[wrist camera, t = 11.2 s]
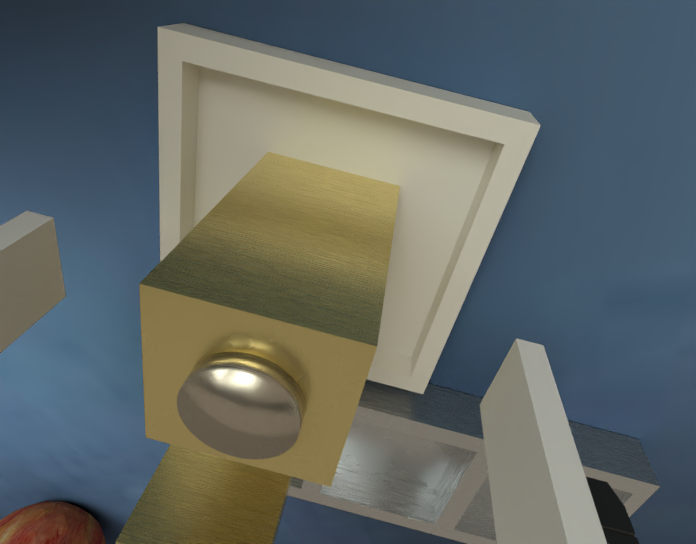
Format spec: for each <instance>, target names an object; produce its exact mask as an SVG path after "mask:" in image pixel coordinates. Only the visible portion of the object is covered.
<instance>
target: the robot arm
mask: <svg viewBox="0 0 696 544" xmlns="http://www.w3.org/2000/svg"><path fill="white" fill-rule="evenodd" d="M64 297H66V294H65V288H64V281H63V275H62V269H61V262H60V256H59V249H58V243H57V237H56V230H55V224H54V218H53V217H49V216H45V215H41V214H38V213H34V212H30V211H25V212H24V213H22V214H20V215H18V216H16V217H15V218H13V219H11V220H9V221H8V222H6V223H4V224H2V225H1V226H0V353H1V352H2V351H3V350H4V349H6V348H7V347H8V346H9V345H10V344H11V343H13V342H14V341H15V340H16V339H17V338H18V337H19V336H21V335H22V334H23V333H24V332H25V331H26V330H28V329H29V328H30V327H31V326H32V325H33V324H34V323H36V322H37V321H38V320H39V319H40V318H41V317H43V316H44V315H45V314H46V313H47V312H48V311H49V310H51V309H52V308H53V307H54V306H55V305H56V304H58V303H59V302H60V301H61V300H62V299H63V298H64ZM480 412H481V420H482V428H483V436H484V444H485V452H486V460H487V468H488V476H489V484H490V492H491V500H492V508H493V516H494V524H495V532H496V540H497V544H639V542H638V540H637V538H635V537H634V533H635V532H634V529H633V527H632V524H631V521H630V519H629V516H628V513H627V511H626V508H625V506H624V505H623V503H622V502H621V500H620V499H619V498H618V496H617V495H616V493H615V492H614V491H613V489H612V488H611V486H610V485H609V484H608V482H605V481H601V480H597V479H594V478H590V477H586V476H585V473H584V470H583V467H582V464H581V461H580V458H579V455H578V451H577V448H576V445H575V442H574V439H573V436H572V433H571V430H570V427H569V423H568V420H567V417H566V414H565V411H564V408H563V405H562V402H561V399H560V395H559V392H558V389H557V386H556V383H555V380H554V377H553V374H552V371H551V367H550V364H549V361H548V358H547V355H546V352H545V349H544V346H543V345H540V344H536V343H532V342H528V341H525V340H521V339H517V338H516V340H515V341H514V343H513V345H512V347H511V349H510V350H509V352H508V354H507V356H506V358H505V360H504V361H503V363H502V365H501V367H500V369H499V370H498V372H497V374H496V376H495V378H494V380H493V381H492V383H491V385H490V387H489V389H488V391H487V392H486V394H485V396H484V398H483V400H482V401H481V403H480Z"/></svg>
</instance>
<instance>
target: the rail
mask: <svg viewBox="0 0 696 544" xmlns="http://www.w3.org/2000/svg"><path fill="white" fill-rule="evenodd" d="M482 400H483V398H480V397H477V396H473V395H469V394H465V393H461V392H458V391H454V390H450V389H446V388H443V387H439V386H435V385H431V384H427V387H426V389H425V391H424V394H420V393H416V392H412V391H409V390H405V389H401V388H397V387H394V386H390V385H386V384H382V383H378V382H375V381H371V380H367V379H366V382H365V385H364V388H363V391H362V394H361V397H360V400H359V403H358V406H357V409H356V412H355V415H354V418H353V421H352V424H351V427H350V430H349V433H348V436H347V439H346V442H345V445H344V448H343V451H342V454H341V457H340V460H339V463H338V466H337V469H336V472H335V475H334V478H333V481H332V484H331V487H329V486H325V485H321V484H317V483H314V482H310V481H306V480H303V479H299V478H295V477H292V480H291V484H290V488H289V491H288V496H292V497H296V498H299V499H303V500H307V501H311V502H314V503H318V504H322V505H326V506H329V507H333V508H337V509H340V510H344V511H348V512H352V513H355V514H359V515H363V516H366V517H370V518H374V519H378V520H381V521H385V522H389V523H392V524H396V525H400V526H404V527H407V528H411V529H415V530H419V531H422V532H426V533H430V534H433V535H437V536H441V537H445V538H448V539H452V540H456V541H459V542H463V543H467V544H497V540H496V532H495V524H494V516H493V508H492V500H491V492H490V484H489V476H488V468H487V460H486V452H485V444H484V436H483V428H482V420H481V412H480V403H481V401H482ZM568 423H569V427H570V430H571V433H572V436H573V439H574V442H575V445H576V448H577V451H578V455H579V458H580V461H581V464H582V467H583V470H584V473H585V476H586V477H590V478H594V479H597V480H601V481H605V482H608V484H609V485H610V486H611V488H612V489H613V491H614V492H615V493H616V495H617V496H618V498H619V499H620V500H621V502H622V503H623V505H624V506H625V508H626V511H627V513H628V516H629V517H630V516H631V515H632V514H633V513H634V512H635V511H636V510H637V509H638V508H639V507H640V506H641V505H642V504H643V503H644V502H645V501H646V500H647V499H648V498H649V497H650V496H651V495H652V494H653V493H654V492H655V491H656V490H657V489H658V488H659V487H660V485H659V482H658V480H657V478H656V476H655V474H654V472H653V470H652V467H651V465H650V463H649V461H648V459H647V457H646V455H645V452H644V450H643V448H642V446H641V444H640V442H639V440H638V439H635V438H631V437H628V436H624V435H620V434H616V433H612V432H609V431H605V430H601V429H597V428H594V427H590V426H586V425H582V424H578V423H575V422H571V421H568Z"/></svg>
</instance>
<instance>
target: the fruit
mask: <svg viewBox="0 0 696 544" xmlns="http://www.w3.org/2000/svg"><path fill="white" fill-rule="evenodd" d="M0 544H106V540H105V537H104V535H103V532H102V529H101V526H100V524H99V523H98V522H97V521H96V519H95V518H94V517H93V516H92V515H91V514H89V513H87V512H86V511H84V510H83V509H81V508H79V507H76V506H74V505H71V504H68V503H66V502H58V501H44V502H40V503H36V504H33V505H29V506H26V507H24V508H21V509H19V510H16V511H14V512H12V513H11V514H9V515H8V516H6V517H5V518H3V519H2V520H0Z"/></svg>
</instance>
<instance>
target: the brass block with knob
mask: <svg viewBox="0 0 696 544" xmlns="http://www.w3.org/2000/svg"><path fill="white" fill-rule="evenodd" d="M291 480H292V477H291V476H288V475H284V474H280V473H276V472H273V471H269V470H265V469H262V468H258V467H254V466H250V465H247V464H243V463H239V462H235V461H232V460H228V459H224V458H221V457H217V456H213V455H209V454H206V453H202V452H198V451H195V450H191V449H187V448H183V447H180V446H176V445H172V444H170V446H169V448H168V450H167V451H166V453H165V455H164V457H163V459H162V460H161V462H160V464H159V466H158V467H157V469H156V471H155V473H154V474H153V476H152V478H151V480H150V482H149V483H148V485H147V487H146V489H145V490H144V492H143V494H142V496H141V497H140V499H139V501H138V503H137V505H136V506H135V508H134V510H133V512H132V513H131V515H130V517H129V519H128V521H127V522H126V524H125V526H124V528H123V529H122V531H121V533H120V535H119V536H118V538H117V540H116V544H274V542H275V538H276V534H277V531H278V527H279V524H280V520H281V516H282V513H283V509H284V506H285V502H286V498H287V495H288V491H289V488H290V484H291Z"/></svg>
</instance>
